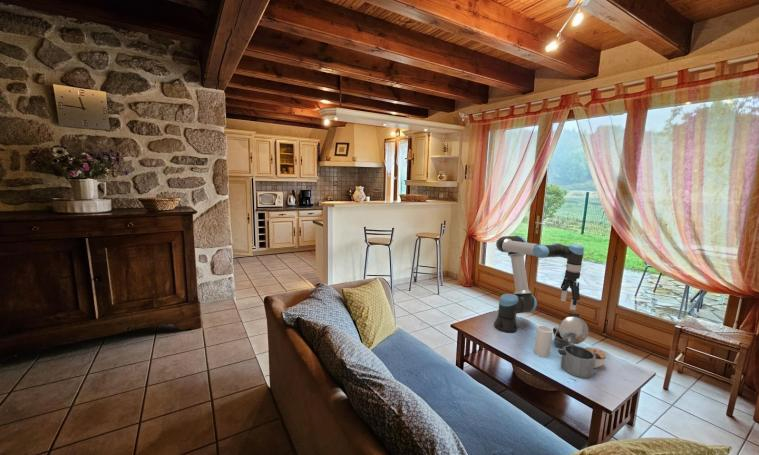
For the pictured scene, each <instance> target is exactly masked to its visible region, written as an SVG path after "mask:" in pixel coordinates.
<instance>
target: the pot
mask: <svg viewBox="0 0 759 455" xmlns="http://www.w3.org/2000/svg"><path fill="white" fill-rule="evenodd" d="M557 353H558V354H559V355H560V356H561V362H560V367H561V369H562V371H565V372H566V373H567V374H568V375H571V376H573V377H575V378H580V379H591V378H593V375H594V369H595V368H594V364H595V358H596V359H601V357H600V356H599V355H598V354H595V353H593V352H591V351H589V350H587V349H586V347H583V346H579V345H576V344H569V345H566V346H564V348H562V349H557Z"/></svg>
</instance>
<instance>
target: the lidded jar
mask: <svg viewBox="0 0 759 455" xmlns="http://www.w3.org/2000/svg"><path fill="white" fill-rule="evenodd" d="M585 348H586V349H587V350H589V351H591V352H593V353H595V354H598V355H599V356H600V357H601V359H596V358H595V364H594V369H598V368H600V367H602V366H603V365H604V364H605V362H606V358H607V355H606V353H605V352H603V351H602V350H600V349H597V348H596V347H595V348H594V347H588V346H587V347H585Z"/></svg>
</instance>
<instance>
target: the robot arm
mask: <svg viewBox="0 0 759 455" xmlns="http://www.w3.org/2000/svg"><path fill="white" fill-rule="evenodd" d="M495 246H496V249H497V250H498V251H500V252H501V253H507V255H508V256H509V258H510V260H511V269H512V274H513V276H512V277H513V281H514V282H513V283H514V288H515V291H514V292H513V293H504V294H502V295H501V296H500V297H499V301H498V312H497V317H496V318H495V320H494V324H493V328H495V329H496V330H498V331H500V332H503V333H507V334H514V333H517V332H518V323H517V314H523V313H527V314H528V313H532V312H534V311H535V310H536V308H537V305H538V300H537V298H536V296H534V295H533V294H532V292H531V290H530V289H529V284H528V276H527V269H526V264H525V263H526V262H525V255H527V256H534V257H535V258H538V259H545V258H562V259H566V264H565V272H564V276H563V279H562V283H561V285H560V289H561V295H560V301H561V302H566V301H567V296H568V289H570V291H571V296H572V297H571V300H570V306H569V310H570V311H576V310H577V304H578V301H580V300H581V299H580V298H581V297H580V282H579V281H577V280H578V279H580V277H581V271H582V267H583V266H582V264H583V263H582V262H583V258H584V254H585V253H584V252H585V246H584V245H580V244H578V243H575V244H574V243H570V244H569V246H568V245H566V244H565V245H564V244H562V243H554V242H553V243H552V244H540V243H534V242H532V243H531V242H528V240H527V239H526V238H525V237H523V236H522V235H521V236H520V235H509V236H508V235H505V236H501V237H499V238H498V239H497V241H496V245H495Z"/></svg>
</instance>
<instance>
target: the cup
mask: <svg viewBox="0 0 759 455" xmlns="http://www.w3.org/2000/svg"><path fill="white" fill-rule="evenodd" d="M553 334H554V333H553V328H551V327H550V326H547V325H543V324H542V325H541V324H540V325H538V326H537V327H536V334H535V341H534V346H533V347H534V350H533V353H534V354H535V355H536V356H539V357H540V358H541V357H542V358H549V357H550V353H551V352H550V351H551V346H552V345H551V344H552V340H553Z"/></svg>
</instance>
